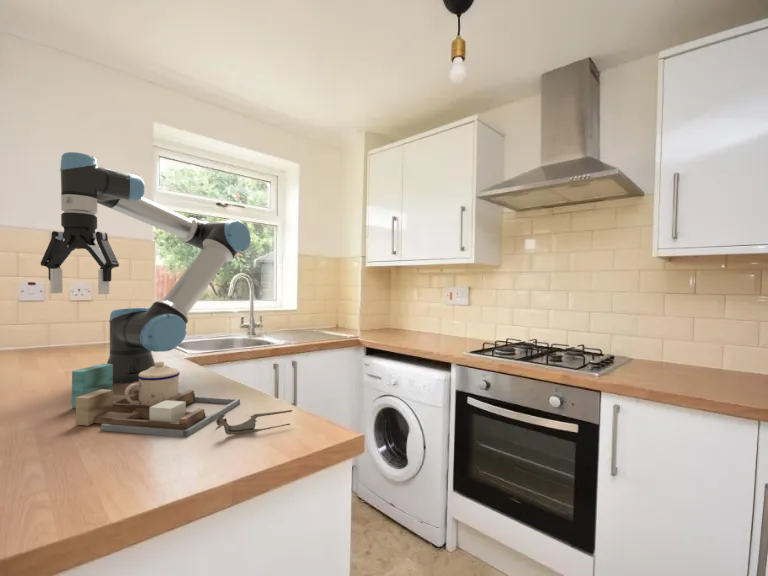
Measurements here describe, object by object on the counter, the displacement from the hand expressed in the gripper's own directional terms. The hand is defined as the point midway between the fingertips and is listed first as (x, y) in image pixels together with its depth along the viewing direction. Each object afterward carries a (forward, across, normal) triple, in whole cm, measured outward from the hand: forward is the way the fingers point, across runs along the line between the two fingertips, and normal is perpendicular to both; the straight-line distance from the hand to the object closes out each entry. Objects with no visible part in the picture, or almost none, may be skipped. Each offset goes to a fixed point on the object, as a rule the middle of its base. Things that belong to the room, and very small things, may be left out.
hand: (80, 293), depth 103 cm
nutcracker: (+28, +55, -16) cm, 64 cm away
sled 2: (+28, +33, -15) cm, 46 cm away
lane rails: (+28, +33, -9) cm, 44 cm away
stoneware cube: (+28, +35, -15) cm, 48 cm away
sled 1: (+28, +23, -4) cm, 36 cm away
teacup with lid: (+28, +25, -6) cm, 38 cm away
